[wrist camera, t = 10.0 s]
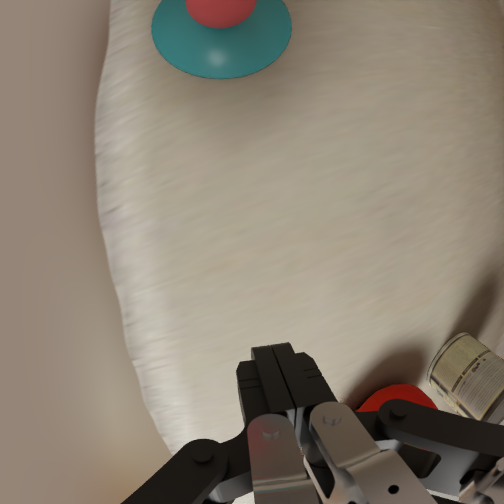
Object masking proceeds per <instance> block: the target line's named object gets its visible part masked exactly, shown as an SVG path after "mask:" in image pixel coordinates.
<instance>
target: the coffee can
mask: <svg viewBox="0 0 504 504" xmlns="http://www.w3.org/2000/svg"><path fill="white" fill-rule="evenodd" d="M427 381H428V384H429V385H430V386H432V388H434V389H435V390H436V392H437V393H438V394H439V395H440V396H441V397H442V398H443V399H444V400H445V401H446V402H447V403H448V404H449V405H450V406H451V407H452V408H453V409H454V411H455V412H456V413H457V414H458V415H459V416H463V417H467V418H471V419H476V420H480V421H484V422H489V423H493V424H498V425H499V424H500V423H501V422H502V421H503V420H504V360H503V359H502V358H500V357H499V356H498V355H496V354H495V353H494V352H492V351H491V350H490V349H488V348H487V347H486V346H485V345H483V344H482V343H480V342H479V341H478V340H476V339H475V338H473V337H472V336H471V335H470V334H469V333H467V332H462V333H459V334H457V335H456V336H454V337H453V338H451V339H450V340H449V341H448V342H447V343H446V344H445V345H444V346H443V347H442V349H441V350H440V351H439V353H438V354H437V355H436V357H435V359H434V360H433V362H432V364H431V366H430V368H429V371H428V375H427Z"/></svg>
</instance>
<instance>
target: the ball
mask: <svg viewBox="0 0 504 504" xmlns="http://www.w3.org/2000/svg"><path fill="white" fill-rule="evenodd" d="M256 1H257V0H185V2H186V8H187V10H188V13H189V14H190V16H191V17H192V18H193V19H194V20H195V21H197V22H198V23H200V24H202V25H204V26H207V27H211V28H228V27H232V26H235V25H237V24H239V23H241V22H243V21H244V20H245V19H247V18H248V17H249V16H250V14H251V13H252V12H253V10H254V8H255V5H256Z"/></svg>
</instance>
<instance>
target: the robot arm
mask: <svg viewBox="0 0 504 504" xmlns="http://www.w3.org/2000/svg"><path fill="white" fill-rule="evenodd" d="M251 359H252V360H250V361H242V362H240V363H239V365H238V368H237V370H236V375H237V384H238V393H239V400H240V405H241V411H242V415H243V421H244V426H245V427H244V429H243V431H242V432H241V433H240V434H239V435H238V436H236V437H235V438H233V439H231V440H228V441H226V442H223V443H218V442H217V441H214V440H210V439H197V440H193V441H191V442H189V443H187V444H186V445H184V446H183V447H182V448H181V449H180V450H179V451H178V452H177V453H176V454H175V455H174V456H173V457H172V458H171V459H170V460H169V461H168V462H167V463H166V464H165V465H164V466H163V467H162V468H161V469H159V470H158V471H157V472H156V473H155V474H154V475H153V476H152V477H151V478H150V479H148V480H147V481H146V482H145V483H144V484H143V485H142V486H141V487H140V488H138V490H136V491H135V492H134V493H133V494H132V495H131V496H129V497H128V498H127V499H126V500H125V501H123V502H122V503H121V504H232V503H233V502H234V500H235V498H238V497H240V496H243V495H245V494H248V493H250V492H252V491H254V499H255V504H319V501H318V497H317V494H316V490H315V487H316V489H317V491H318V493H319V495H320V497H321V499H322V501H323V504H504V426H503V425H498V424H493V423H489V422H484V421H480V420H476V419H471V418H467V417H463V416H459V415H456V414H452V413H448V412H444V411H441V410H437V409H434V408H430V407H427V406H424V405H420V404H417V403H414V402H411V401H407V400H404V399H391V400H388V401H386V402H384V403H383V404H382V405H381V406H380V408H379V410H378V411H366V412H357V411H352V410H351V409H350V408H349V407H348V406H347V405H345V404H343V403H340V402H338V401H337V400H336V398H335V396H334V394H333V393H332V391H331V389H330V387H329V386H328V384H327V382H326V380H325V379H324V377H323V376H322V373H321V372H320V370H319V369H318V366H317V365H316V363H315V361H314V360H313V358H311V357H310V356H309V355H307V354H306V353H304V352H302V353H296V354H295V352H294V350H293V348H292V346H291V344H290V343H289V342H287V343H281V344H274V345H267V346H260V347H252V348H251ZM405 443H406V444H405ZM408 444H409V445H408ZM411 445H412V446H411ZM414 446H415V447H414ZM299 447H302V449H303V452H304V464H303V460H302V456H301V452H300V449H299ZM417 447H418V448H417ZM420 448H421V449H420ZM424 449H425V450H424ZM427 450H428V451H427ZM304 465H305V467H306V469H307V471H308V473H309V475H310V477H311V478H308V477H307V474H306V471H305V467H304ZM313 483H314V484H313ZM314 485H315V487H314ZM426 489H429V490H433V491H437V492H441V493H444V494H449V495H453V496H458V497H459V501H458V502H457V501H453V500H449V499H446V498H442V497H439V496H435V495H431V494H430V493H429V492H428V491H427V490H426Z"/></svg>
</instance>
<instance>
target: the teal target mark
mask: <svg viewBox="0 0 504 504" xmlns="http://www.w3.org/2000/svg"><path fill="white" fill-rule="evenodd" d="M152 36H153V40H154V43H155V45H156V47H157V49H158V51H159V52H160V54H161V55H162V56H163V57H164V58H165V59H166V60H167V61H168V62H169V63H170V64H172V65H173V66H175V67H176V68H178V69H180V70H182V71H184V72H186V73H189V74H192V75H195V76H200V77H204V78H213V79H228V78H236V77H242V76H245V75H249V74H252V73H254V72H257V71H259V70H261V69H263V68H265V67H267V66H268V65H270V64H271V63H272V62H274V61H275V60H276V59H277V58H278V57H279V56H280V55H281V53H282V52H283V51H284V49H285V48H286V46H287V44H288V42H289V39H290V36H291V19H290V15H289V12H288V10H287V8H286V6H285V4H284V3H283V2H282V0H257V1H256V5H255V8H254V10H253V12H252V13H251V14H250V16H249V17H248V18H247V19H245V20H244V21H243V22H241V23H239V24H237V25H235V26H232V27H228V28H211V27H207V26H204V25H202V24H200V23H198V22H197V21H195V20H194V19H193V18H192V17H191V16H190V14H189V13H188V10H187V8H186V2H185V0H162V2H161V3H160V4H159V6H158V8H157V9H156V11H155V14H154V17H153V20H152Z"/></svg>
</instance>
